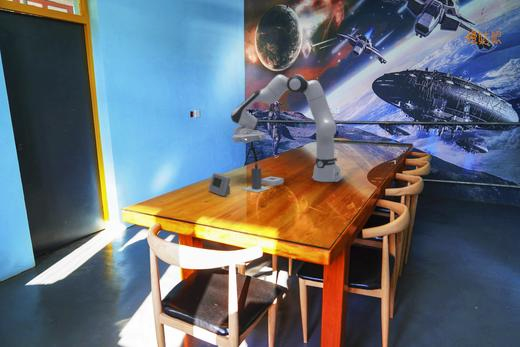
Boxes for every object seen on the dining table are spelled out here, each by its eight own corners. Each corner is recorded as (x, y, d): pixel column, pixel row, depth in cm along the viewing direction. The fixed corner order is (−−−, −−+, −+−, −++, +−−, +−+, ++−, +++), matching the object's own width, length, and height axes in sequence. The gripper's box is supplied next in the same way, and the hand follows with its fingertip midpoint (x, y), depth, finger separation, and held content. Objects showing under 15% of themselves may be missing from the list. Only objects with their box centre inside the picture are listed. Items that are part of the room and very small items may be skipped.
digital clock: (208, 191, 205) (207, 173, 202) (222, 189, 209) (222, 171, 206) (217, 198, 190) (217, 178, 188) (233, 195, 194) (232, 177, 192)
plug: (256, 187, 210) (256, 162, 207) (261, 188, 208) (261, 163, 204) (251, 188, 207) (251, 163, 204) (256, 189, 205) (256, 164, 201)
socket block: (271, 180, 227) (271, 176, 226) (283, 183, 220) (283, 178, 220) (260, 183, 219) (260, 179, 219) (273, 186, 213) (273, 181, 212)
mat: (255, 185, 216) (255, 184, 216) (270, 188, 208) (270, 187, 208) (241, 189, 207) (241, 188, 207) (257, 192, 199) (257, 192, 199)
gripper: (229, 132, 219) (236, 136, 207) (260, 129, 226) (268, 133, 214) (230, 142, 221) (236, 146, 209) (260, 139, 228) (268, 143, 216)
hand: (253, 139), depth 211 cm, fingers open, 8 cm apart
